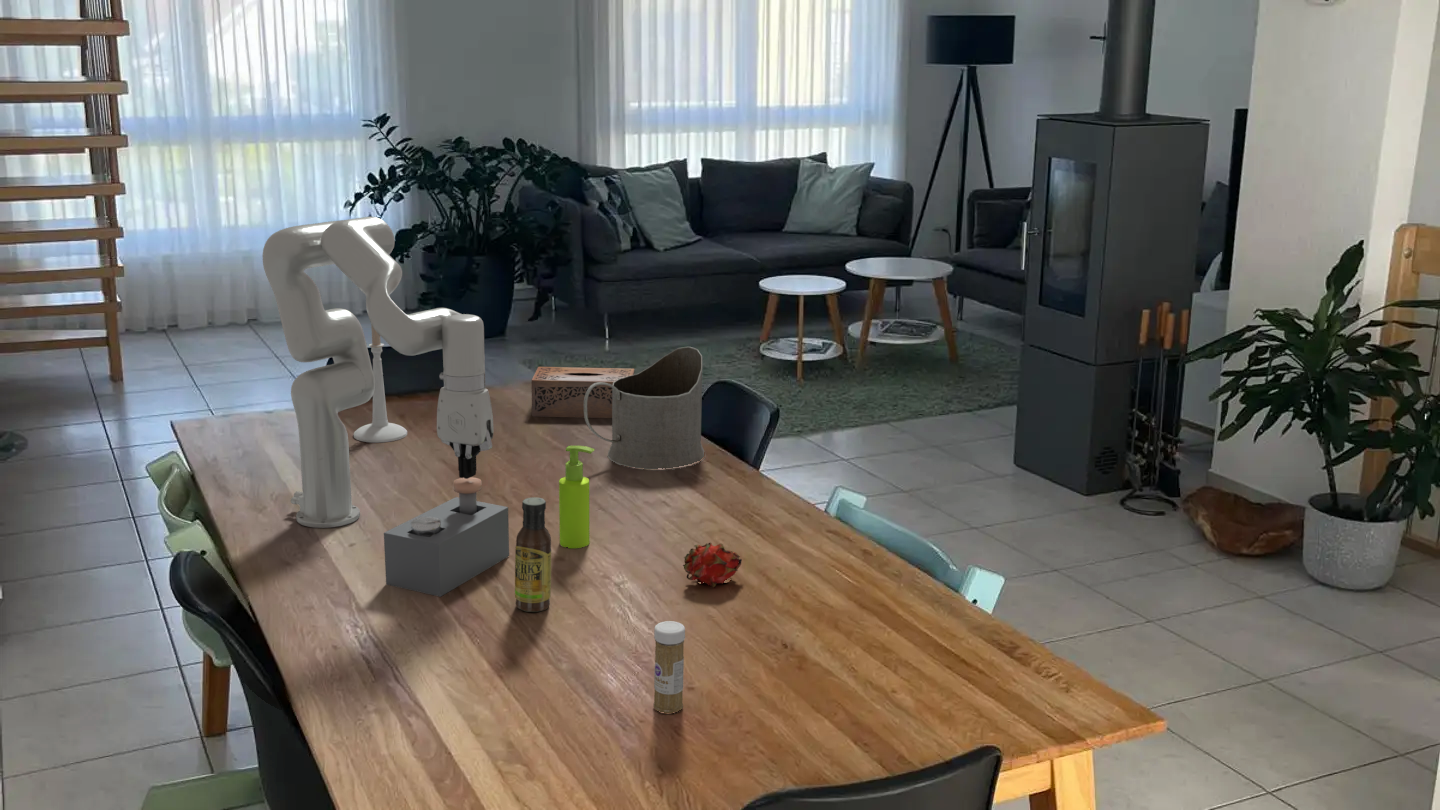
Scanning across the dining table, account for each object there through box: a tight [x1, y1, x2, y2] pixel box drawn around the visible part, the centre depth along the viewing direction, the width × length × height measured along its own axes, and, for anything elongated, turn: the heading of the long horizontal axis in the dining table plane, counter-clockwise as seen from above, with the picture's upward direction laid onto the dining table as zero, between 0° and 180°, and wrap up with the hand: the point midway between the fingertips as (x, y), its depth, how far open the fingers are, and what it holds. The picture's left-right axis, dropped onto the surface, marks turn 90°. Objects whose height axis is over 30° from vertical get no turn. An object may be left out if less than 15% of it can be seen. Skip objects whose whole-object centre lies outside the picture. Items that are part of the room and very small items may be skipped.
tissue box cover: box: [530, 366, 635, 419], centre depth 364 cm, size 26×14×10 cm, turn 90°
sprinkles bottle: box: [653, 620, 686, 713], centre depth 206 cm, size 5×5×13 cm
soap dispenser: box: [558, 445, 595, 549], centre depth 270 cm, size 6×7×20 cm
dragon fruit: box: [682, 542, 742, 588], centre depth 254 cm, size 8×8×12 cm
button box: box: [383, 496, 510, 597], centre depth 256 cm, size 12×22×10 cm, turn 155°
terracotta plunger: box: [452, 476, 483, 515], centre depth 260 cm, size 5×5×8 cm
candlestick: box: [353, 324, 408, 444], centre depth 335 cm, size 13×13×30 cm
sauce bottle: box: [514, 496, 552, 613], centre depth 240 cm, size 6×6×20 cm
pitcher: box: [583, 346, 705, 469], centre depth 323 cm, size 23×32×25 cm
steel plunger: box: [411, 517, 441, 537], centre depth 250 cm, size 5×5×8 cm
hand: (467, 476), depth 259 cm, fingers closed
